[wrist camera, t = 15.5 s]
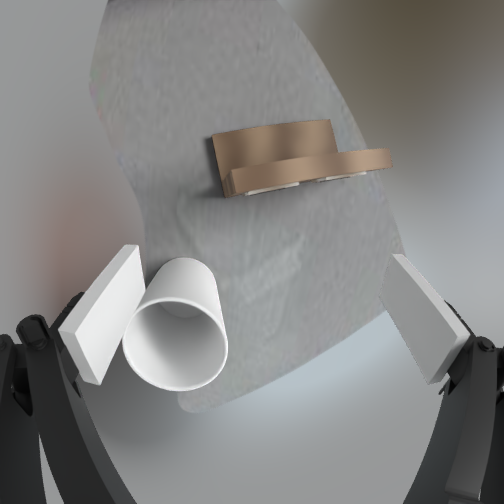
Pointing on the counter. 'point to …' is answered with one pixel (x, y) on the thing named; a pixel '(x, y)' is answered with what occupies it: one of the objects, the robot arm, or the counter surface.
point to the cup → (178, 328)
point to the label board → (287, 157)
